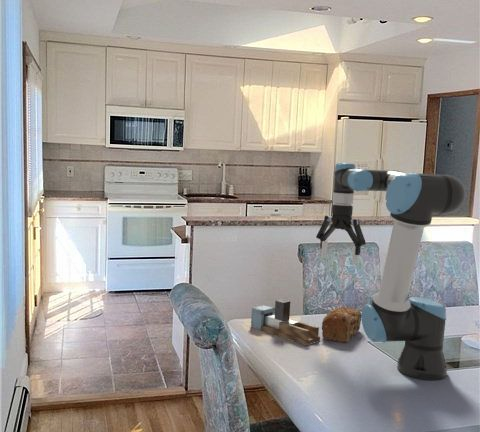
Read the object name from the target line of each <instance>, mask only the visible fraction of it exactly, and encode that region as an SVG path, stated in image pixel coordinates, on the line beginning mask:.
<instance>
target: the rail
mask: <svg viewBox="0 0 480 432" xmlns="http://www.w3.org/2000/svg"><path fill="white" fill-rule="evenodd" d="M289 319H290V320H294V321H297V322H299V327H297V326H293V325H290V324H287V323H284V322H279V329H276V328H273V327H270V326H267V325H263V326H261V330H260V331H262V332H266V333H268V334H271V335H274V336H277V337H281V338H284V339H287V340H290V341H292V342H296V343H298V344H302V345H305V346H309V345H312V344H314V343H317V341H318V342H320V341H321V336H319V333H320V332H319V331H320V327H319V326H316V325H312V324H309V323H306V322H302V321H300V320H296V319H293V318H289Z"/></svg>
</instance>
